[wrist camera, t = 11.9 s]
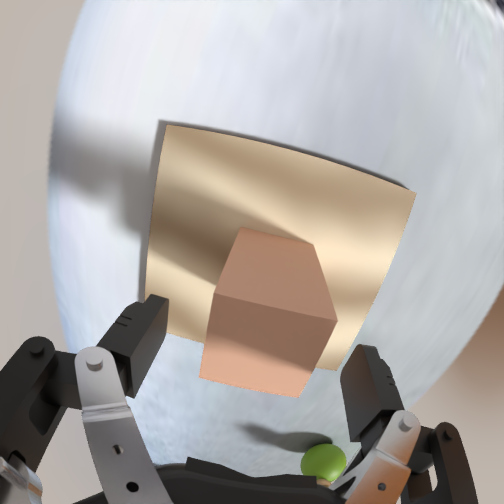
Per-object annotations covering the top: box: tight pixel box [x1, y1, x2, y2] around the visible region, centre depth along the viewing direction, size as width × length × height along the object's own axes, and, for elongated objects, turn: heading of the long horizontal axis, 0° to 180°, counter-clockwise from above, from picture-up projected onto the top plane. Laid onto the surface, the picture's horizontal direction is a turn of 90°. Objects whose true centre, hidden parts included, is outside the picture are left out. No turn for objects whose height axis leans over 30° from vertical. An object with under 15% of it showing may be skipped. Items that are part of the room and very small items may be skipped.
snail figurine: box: [301, 444, 346, 488], centre depth 22 cm, size 5×6×12 cm
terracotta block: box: [199, 227, 338, 398], centre depth 14 cm, size 5×5×8 cm
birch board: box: [145, 125, 417, 371], centre depth 18 cm, size 15×16×1 cm
